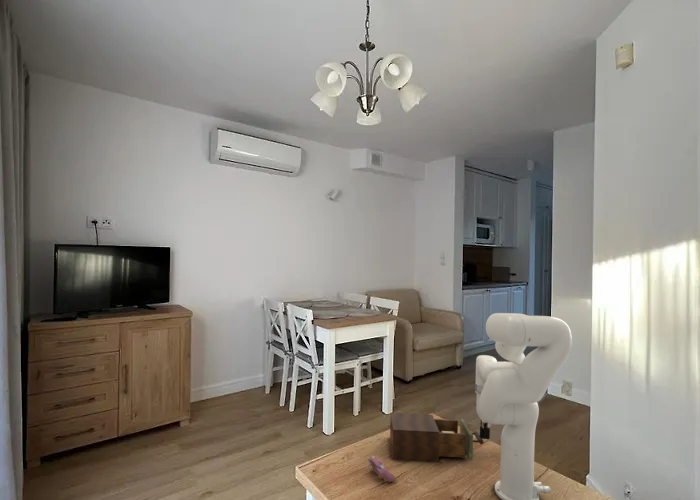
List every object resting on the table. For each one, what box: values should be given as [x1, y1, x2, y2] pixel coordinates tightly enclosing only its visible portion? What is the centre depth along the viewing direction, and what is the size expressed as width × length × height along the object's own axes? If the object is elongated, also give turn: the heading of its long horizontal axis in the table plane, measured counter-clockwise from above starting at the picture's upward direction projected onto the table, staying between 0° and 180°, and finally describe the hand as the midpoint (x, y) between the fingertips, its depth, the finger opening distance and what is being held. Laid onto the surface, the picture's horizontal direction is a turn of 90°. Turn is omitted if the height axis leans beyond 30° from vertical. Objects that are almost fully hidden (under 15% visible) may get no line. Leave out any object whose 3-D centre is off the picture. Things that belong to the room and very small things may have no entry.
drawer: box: [434, 418, 485, 461], centre depth 139 cm, size 20×13×9 cm, turn 87°
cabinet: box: [389, 412, 440, 462], centre depth 139 cm, size 17×15×11 cm
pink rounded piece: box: [367, 455, 396, 483], centre depth 122 cm, size 10×5×7 cm, turn 25°
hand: (484, 437), depth 138 cm, fingers closed
